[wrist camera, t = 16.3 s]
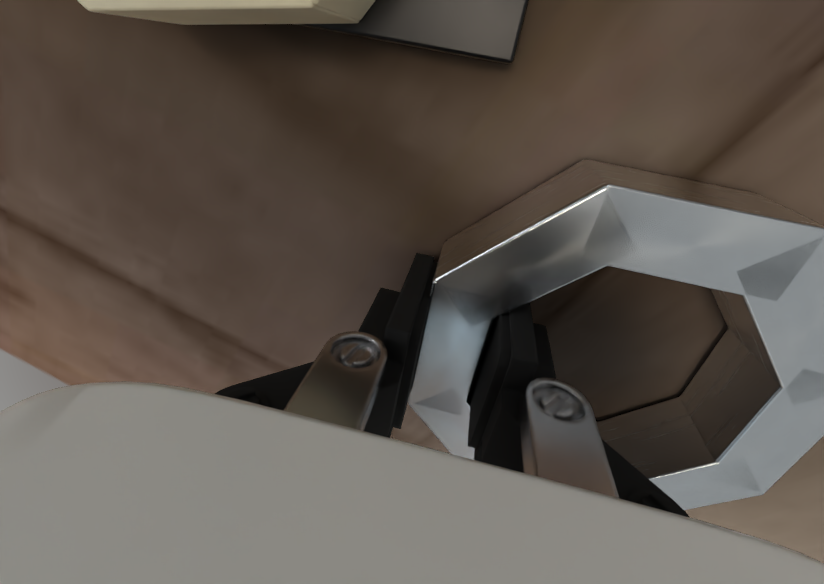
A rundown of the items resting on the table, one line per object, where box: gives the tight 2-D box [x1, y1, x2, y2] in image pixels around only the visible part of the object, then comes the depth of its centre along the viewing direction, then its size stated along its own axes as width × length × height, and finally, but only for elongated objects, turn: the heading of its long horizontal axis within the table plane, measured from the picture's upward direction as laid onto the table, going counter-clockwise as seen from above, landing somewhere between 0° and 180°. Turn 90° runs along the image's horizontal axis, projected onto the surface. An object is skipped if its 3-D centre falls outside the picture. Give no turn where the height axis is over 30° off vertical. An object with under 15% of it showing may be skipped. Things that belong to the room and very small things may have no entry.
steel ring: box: [408, 159, 824, 510], centre depth 11 cm, size 10×10×2 cm
